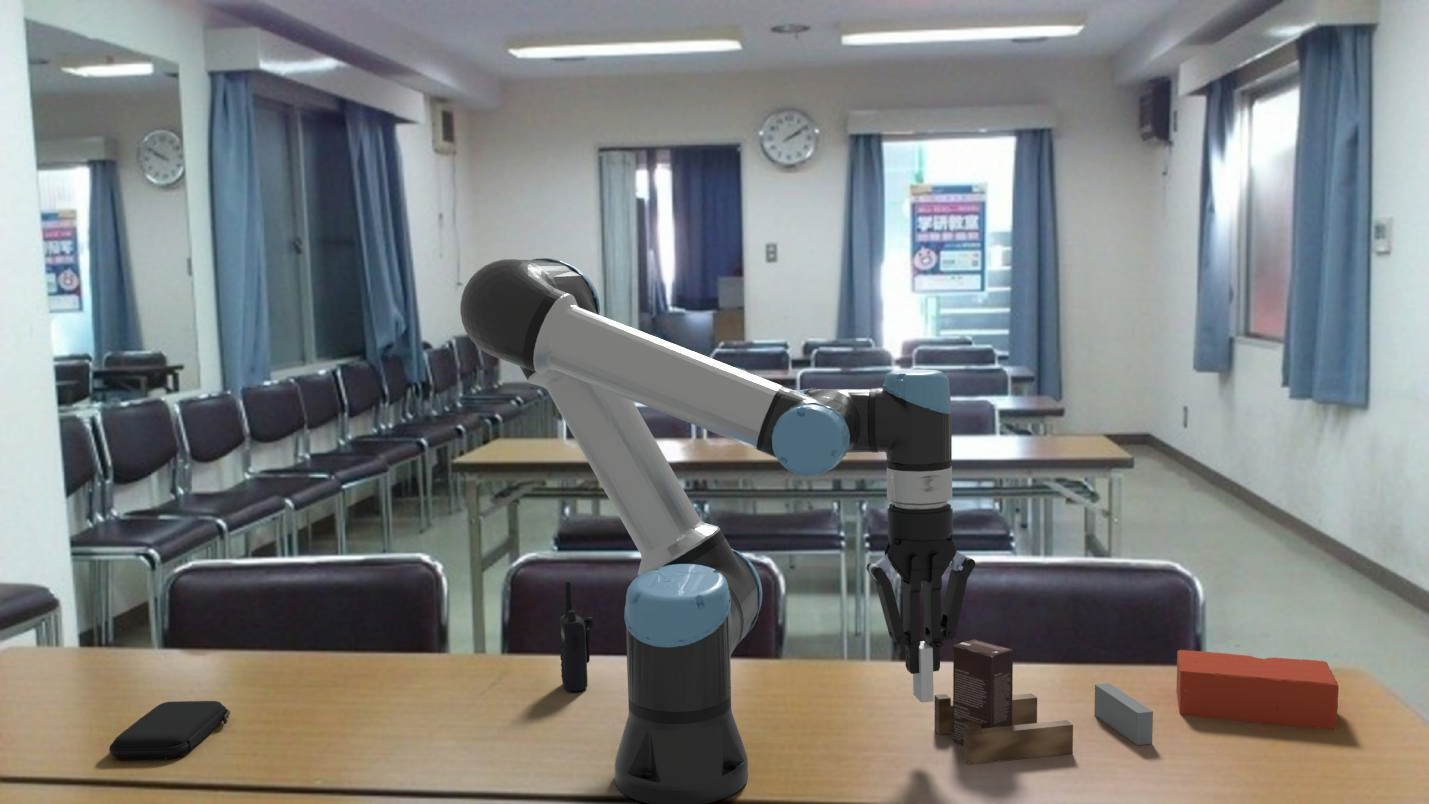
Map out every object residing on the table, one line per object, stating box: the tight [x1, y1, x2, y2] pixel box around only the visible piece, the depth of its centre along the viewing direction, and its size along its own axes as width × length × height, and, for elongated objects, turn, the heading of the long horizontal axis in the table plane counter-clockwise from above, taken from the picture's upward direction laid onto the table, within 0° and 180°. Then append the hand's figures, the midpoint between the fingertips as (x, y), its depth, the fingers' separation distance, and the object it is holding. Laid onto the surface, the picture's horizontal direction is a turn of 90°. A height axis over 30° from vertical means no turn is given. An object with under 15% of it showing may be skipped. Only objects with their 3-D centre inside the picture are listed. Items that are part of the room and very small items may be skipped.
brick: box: [1176, 649, 1339, 730], centre depth 151 cm, size 18×9×6 cm, turn 71°
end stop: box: [1093, 682, 1154, 746], centre depth 146 cm, size 2×10×4 cm, turn 11°
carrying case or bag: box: [108, 700, 231, 761], centre depth 149 cm, size 11×3×15 cm
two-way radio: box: [559, 579, 594, 692], centre depth 164 cm, size 6×4×15 cm
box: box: [952, 639, 1014, 745], centre depth 142 cm, size 6×4×12 cm
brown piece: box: [934, 693, 1074, 765], centre depth 142 cm, size 13×11×4 cm
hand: (923, 697), depth 140 cm, fingers closed
